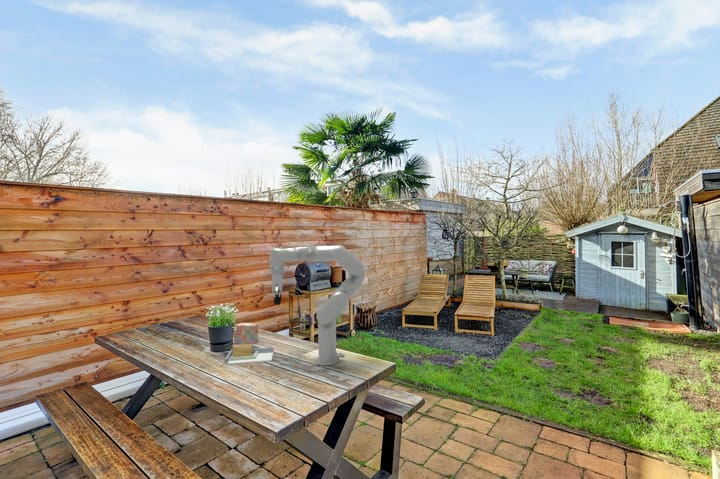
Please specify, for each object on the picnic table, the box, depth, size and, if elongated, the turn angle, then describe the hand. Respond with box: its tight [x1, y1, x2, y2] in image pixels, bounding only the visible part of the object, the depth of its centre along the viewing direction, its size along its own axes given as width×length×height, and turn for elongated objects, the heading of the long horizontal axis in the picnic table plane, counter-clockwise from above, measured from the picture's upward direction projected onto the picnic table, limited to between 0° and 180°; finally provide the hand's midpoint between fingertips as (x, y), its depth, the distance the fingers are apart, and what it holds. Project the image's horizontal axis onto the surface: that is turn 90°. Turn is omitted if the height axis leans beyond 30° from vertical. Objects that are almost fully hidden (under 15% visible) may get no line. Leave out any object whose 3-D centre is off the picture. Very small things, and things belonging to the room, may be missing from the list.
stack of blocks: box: [233, 322, 259, 345], centre depth 218 cm, size 21×6×12 cm, turn 86°
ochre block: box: [232, 344, 254, 357], centre depth 191 cm, size 5×10×6 cm, turn 101°
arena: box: [224, 346, 274, 365], centre depth 190 cm, size 24×14×3 cm, turn 100°
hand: (277, 302), depth 183 cm, fingers open, 9 cm apart
